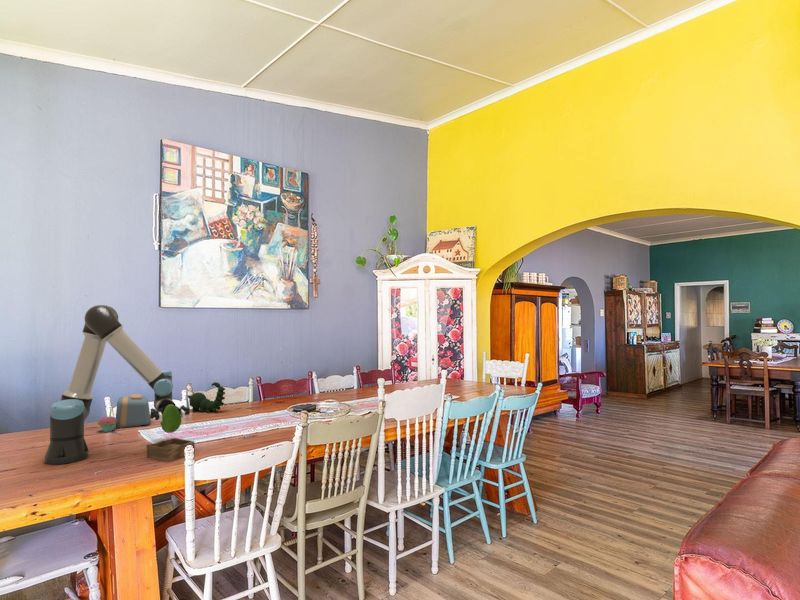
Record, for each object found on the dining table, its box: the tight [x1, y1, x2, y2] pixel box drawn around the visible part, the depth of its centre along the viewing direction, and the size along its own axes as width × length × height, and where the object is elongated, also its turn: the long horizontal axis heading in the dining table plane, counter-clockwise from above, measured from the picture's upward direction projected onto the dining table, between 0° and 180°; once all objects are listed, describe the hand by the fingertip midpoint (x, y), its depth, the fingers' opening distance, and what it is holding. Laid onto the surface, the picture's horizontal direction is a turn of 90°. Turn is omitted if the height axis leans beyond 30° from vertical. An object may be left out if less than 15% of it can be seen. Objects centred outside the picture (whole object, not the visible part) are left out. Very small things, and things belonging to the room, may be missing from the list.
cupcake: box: [97, 407, 118, 433], centre depth 251 cm, size 9×8×12 cm
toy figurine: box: [186, 381, 226, 413], centre depth 296 cm, size 9×19×25 cm
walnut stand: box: [146, 437, 195, 463], centre depth 208 cm, size 13×13×5 cm
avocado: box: [160, 404, 182, 434], centre depth 208 cm, size 8×8×12 cm
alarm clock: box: [115, 393, 152, 429], centre depth 265 cm, size 16×16×16 cm
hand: (172, 416), depth 204 cm, fingers closed on avocado, 8 cm apart
